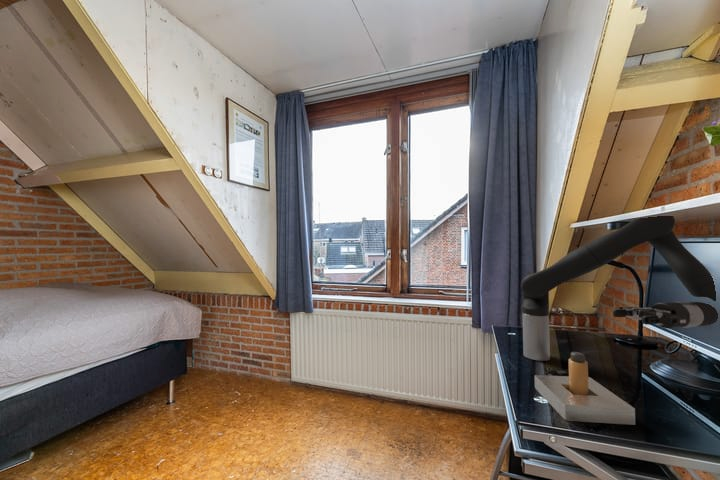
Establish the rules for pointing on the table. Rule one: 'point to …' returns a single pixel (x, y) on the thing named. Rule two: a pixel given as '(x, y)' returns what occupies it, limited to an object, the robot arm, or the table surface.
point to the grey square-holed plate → (584, 401)
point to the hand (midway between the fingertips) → (628, 316)
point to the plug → (578, 374)
